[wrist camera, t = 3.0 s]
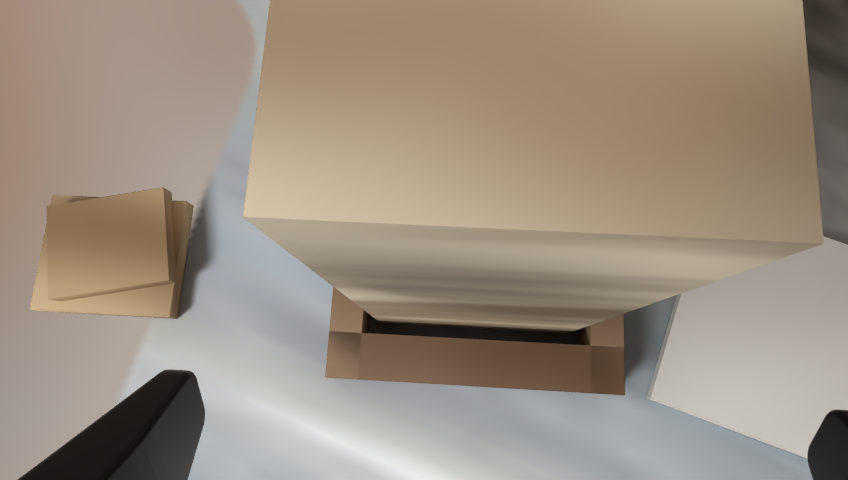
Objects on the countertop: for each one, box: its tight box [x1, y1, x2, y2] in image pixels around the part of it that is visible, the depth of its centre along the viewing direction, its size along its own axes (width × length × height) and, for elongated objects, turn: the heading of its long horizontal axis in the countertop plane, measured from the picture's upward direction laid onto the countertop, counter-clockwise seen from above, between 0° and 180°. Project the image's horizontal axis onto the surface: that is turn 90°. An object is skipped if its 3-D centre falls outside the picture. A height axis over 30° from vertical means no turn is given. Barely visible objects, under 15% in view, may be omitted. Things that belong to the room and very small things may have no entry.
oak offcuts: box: [30, 188, 193, 319], centre depth 21 cm, size 4×5×1 cm
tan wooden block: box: [243, 0, 824, 333], centre depth 14 cm, size 4×6×14 cm, turn 87°
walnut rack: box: [325, 287, 625, 395], centre depth 20 cm, size 7×9×2 cm
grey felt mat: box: [647, 236, 848, 459], centre depth 19 cm, size 7×7×1 cm
